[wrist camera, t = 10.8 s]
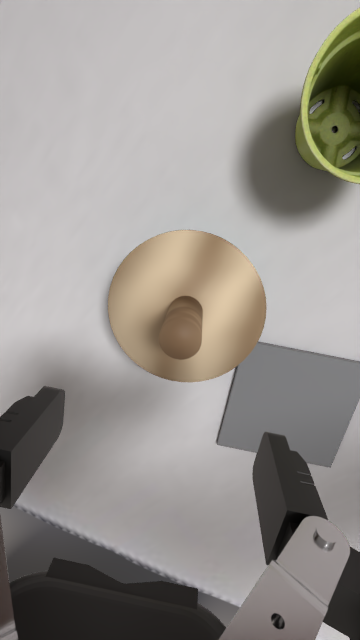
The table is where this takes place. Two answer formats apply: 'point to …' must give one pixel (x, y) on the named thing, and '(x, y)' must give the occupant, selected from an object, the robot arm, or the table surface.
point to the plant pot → (333, 104)
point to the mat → (291, 401)
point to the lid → (187, 306)
